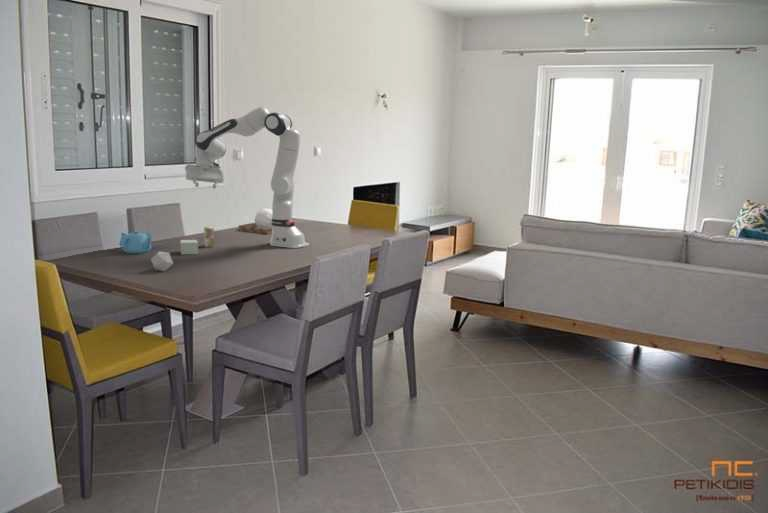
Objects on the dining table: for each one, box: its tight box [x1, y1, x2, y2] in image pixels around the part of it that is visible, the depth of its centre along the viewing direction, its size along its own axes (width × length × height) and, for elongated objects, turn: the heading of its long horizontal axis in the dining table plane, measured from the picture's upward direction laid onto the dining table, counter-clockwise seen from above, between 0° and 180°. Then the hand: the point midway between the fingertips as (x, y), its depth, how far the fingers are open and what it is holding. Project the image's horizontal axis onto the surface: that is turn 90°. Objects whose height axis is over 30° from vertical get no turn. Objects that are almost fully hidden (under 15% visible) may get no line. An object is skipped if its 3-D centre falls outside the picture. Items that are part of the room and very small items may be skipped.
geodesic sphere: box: [254, 207, 272, 229], centre depth 406 cm, size 15×14×14 cm
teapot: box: [119, 229, 153, 255], centre depth 328 cm, size 15×15×11 cm
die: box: [150, 251, 174, 272], centre depth 290 cm, size 8×9×10 cm
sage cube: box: [179, 239, 199, 255], centre depth 330 cm, size 8×8×6 cm
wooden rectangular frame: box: [237, 222, 272, 235], centre depth 406 cm, size 24×24×3 cm
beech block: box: [203, 226, 215, 248], centre depth 348 cm, size 4×4×10 cm
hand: (205, 187), depth 353 cm, fingers open, 8 cm apart
